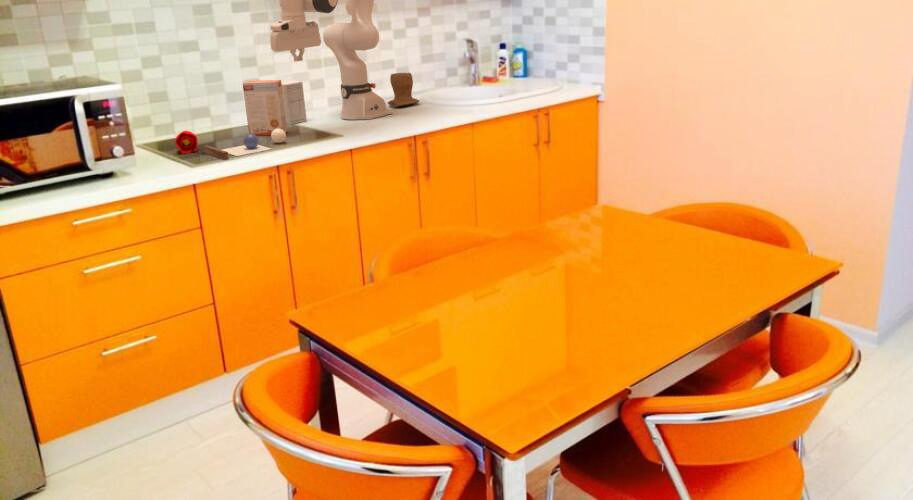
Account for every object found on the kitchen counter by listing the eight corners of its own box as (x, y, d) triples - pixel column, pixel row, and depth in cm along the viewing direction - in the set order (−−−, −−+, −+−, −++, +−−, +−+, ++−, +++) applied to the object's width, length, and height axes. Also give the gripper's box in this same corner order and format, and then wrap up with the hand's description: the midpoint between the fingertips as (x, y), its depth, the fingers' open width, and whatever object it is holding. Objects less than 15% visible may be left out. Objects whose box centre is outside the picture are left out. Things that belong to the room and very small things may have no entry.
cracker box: (287, 132, 326) (281, 79, 319) (283, 135, 320) (277, 81, 313) (253, 132, 327) (247, 80, 320) (248, 135, 322) (241, 82, 315)
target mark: (253, 143, 307) (253, 143, 307) (272, 149, 297) (272, 148, 297) (219, 150, 299) (219, 150, 299) (237, 156, 289) (236, 155, 289)
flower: (200, 133, 304) (200, 137, 296) (194, 153, 305) (194, 157, 298) (179, 126, 301) (178, 130, 293) (173, 146, 302) (172, 150, 295)
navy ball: (238, 136, 298) (243, 150, 301) (245, 138, 294) (250, 152, 297) (251, 130, 301) (256, 144, 303) (258, 132, 297) (263, 146, 299)
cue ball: (266, 137, 306) (277, 146, 309) (271, 137, 302) (283, 145, 305) (273, 125, 308) (285, 134, 310) (279, 125, 303) (291, 133, 306)
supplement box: (295, 118, 352) (290, 79, 346) (307, 121, 345) (303, 81, 340) (276, 122, 345) (271, 82, 340) (288, 125, 339) (283, 84, 333)
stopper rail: (208, 152, 297) (207, 145, 296) (228, 158, 286) (227, 151, 285) (204, 152, 296) (203, 146, 295) (224, 159, 285) (223, 152, 284)
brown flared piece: (405, 101, 381) (403, 69, 376) (423, 104, 373) (421, 71, 368) (381, 107, 371) (378, 73, 366) (398, 109, 363) (396, 75, 358)
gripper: (313, 20, 315) (317, 56, 320) (266, 26, 303) (271, 63, 308) (322, 21, 311) (326, 57, 316) (274, 26, 298) (279, 65, 303)
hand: (298, 60), depth 312 cm, fingers closed
